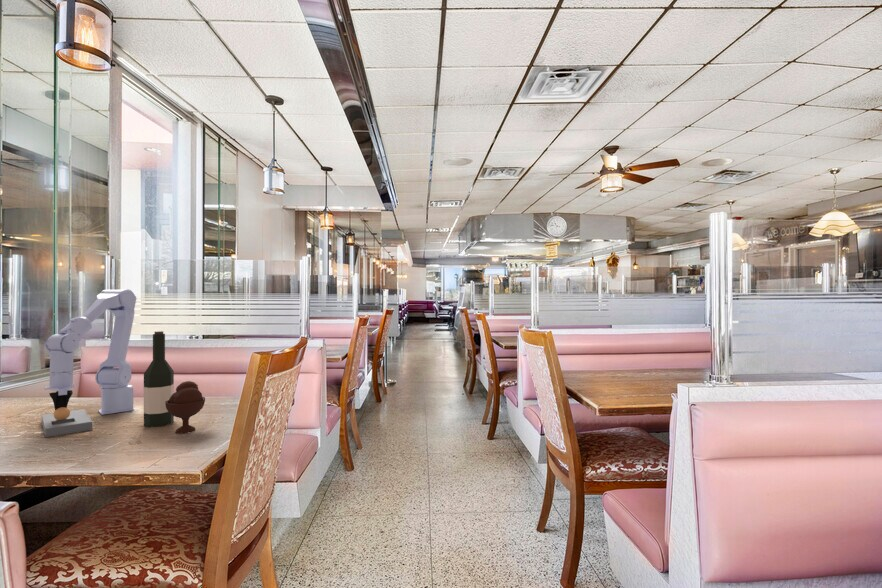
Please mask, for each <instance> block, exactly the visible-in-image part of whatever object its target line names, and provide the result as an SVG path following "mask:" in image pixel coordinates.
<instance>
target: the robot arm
mask: <svg viewBox="0 0 882 588" xmlns="http://www.w3.org/2000/svg"><path fill="white" fill-rule="evenodd" d="M136 303H137V296H136V295H135V293H134V292H133V291H132V290H131V289H129V288H127V289H103V290H101V292H100V293H98V294H96V299H95V301H94V302H93V303H92V304H91V306H89V308H87V310H86V311H85V312H84V313H83V314H82V315H81V316H76V317H73V318H71V319H70V320H69V323H67V324H66V325H65V327H63V328H61V329H60V330H59V332H58V333H55V334H52V335H51V336H49V337H48V339H47V340H46V342H45V343H44V348H45V350H47V353H48V356H49V384H48V386H44V388H43V389H44V391H45V390H50V391H54V392H49V395H48V396H50V397H51V400H52V402H53V406H54V411H55V410H57V409H58V408H61V407H65V408H68V404H69V401H70V399H71V397H72V396H73V394H74V393H73V390H72V388H74V351H76V350H77V349H78V348H79V346H80V342H81V340H82V338H84V336H85V335H86V334H87V333H88V332H89V331H90V330H91V329H92V326H93V324H92V323H93V322H94V321H96V319H98V318H99V317H100V316H101V315H102V314H103V313H105V312H106V311H107V310H108V311H109V312H111V314H113V315H114V316H115V319H114V324H113V328H112V333H111V339H110V344H109V350H108V354H107V359H105V360H104V361H102V362H101V363H99V364H100V365H99V369H98V370H96V371H97V372H96V373H95V379H94V380H95V383H96V384H97V385H98V386H99V388H101V389H100V390H101V391H100V393H101V395H100V396H101V397H100V400H101V401H100V409H98V412H99V413H100V415H101V416H104V415H109V414H116V413H117V414H118V413H123V412H124V413H125V412H129V411H130V412H131V411H134V410H135V409H134V387H133V384H129V383H130V382H131V380H132V364H130V363H129V362H128V361H127V360H126V359H127V355H128V354H127V353H128V349H129V343H130V338H131V334H132V328H133V323H134V320H135V319H134V318H135V309H136V308H135V307H136Z"/></svg>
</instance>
